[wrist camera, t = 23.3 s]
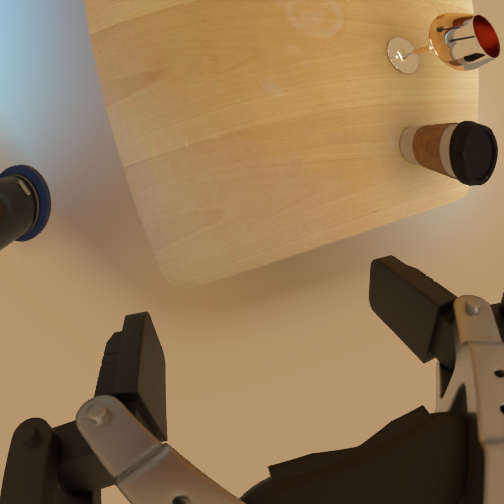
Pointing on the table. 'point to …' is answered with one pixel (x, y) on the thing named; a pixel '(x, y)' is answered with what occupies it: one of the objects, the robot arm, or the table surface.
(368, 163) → the table surface
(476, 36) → the wineglass
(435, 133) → the coffee cup
